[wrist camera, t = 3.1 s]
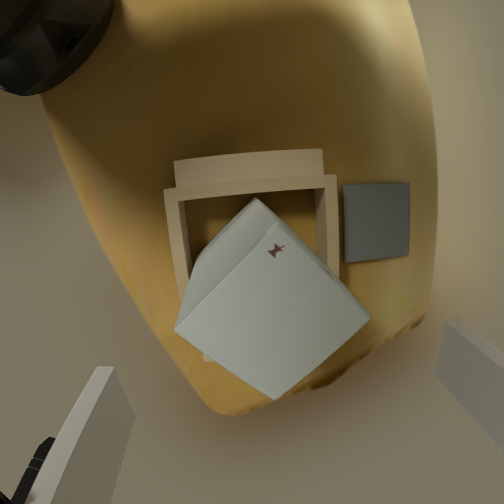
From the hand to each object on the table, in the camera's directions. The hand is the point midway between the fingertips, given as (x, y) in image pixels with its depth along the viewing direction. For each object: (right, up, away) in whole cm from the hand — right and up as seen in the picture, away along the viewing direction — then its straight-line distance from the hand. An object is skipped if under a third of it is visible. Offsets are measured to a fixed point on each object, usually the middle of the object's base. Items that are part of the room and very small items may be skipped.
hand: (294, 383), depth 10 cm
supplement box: (-1, +5, +16) cm, 17 cm away
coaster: (+10, +8, +16) cm, 20 cm away
